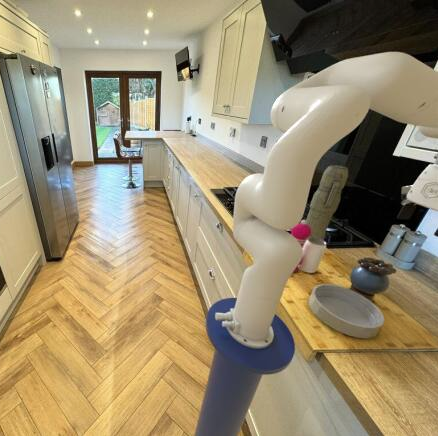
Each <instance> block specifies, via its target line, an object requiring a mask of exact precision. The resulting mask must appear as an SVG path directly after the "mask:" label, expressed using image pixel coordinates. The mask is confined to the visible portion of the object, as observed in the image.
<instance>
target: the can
mask: <svg viewBox="0 0 438 436" xmlns="http://www.w3.org/2000/svg"><path fill="white" fill-rule="evenodd" d="M302 250H303V260H302V263H301V264H300V265H298V269H299V270H300V271H302V272H304V273H307V274H314V273H316V272H317V271H318V268H319V267H320V264H321V262H322V259H323V257H324V255H325V254H326V250H327V242H326V240H325V239H324V240H322V239H319V238H315V237H309V238H308V240H306V242H305V244H304V246H303V247H302Z"/></svg>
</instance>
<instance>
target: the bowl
mask: <svg viewBox="0 0 438 436" xmlns="http://www.w3.org/2000/svg"><path fill="white" fill-rule="evenodd" d="M308 297H309V298H308V302H307V303H308V306H309V308H310V310H311V311H312V313H313V314H314V316H316V317H317V318H318V319H319V320H320V321H321V322H322V323H324V324H325V325H327V326H328V327H329V328H332V329H333V330H335V331H336V332H340V333H342V334H344V335H347V336H350V337H353V338H358V339H369V338H372V337H376V335H377V334H378V332H379V331H380V329H381V328H382V326H383V325H384V323H385V316H384V314H383V312H382V311H381V309H380V308H379V307H378V305H376V304H375V303H374V302H372V301H370V300H368V299H367V298H365V297H364V296H362V295H360V294H358V293H356V292H354V291H352V290H350V289H349V288H347V287H344V286H342V285H337V284H332V283H321V284H317V285H315V286H314V287H313V288H312V291H311V293H310V295H309V296H308Z"/></svg>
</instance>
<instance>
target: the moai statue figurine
mask: <svg viewBox="0 0 438 436" xmlns="http://www.w3.org/2000/svg"><path fill="white" fill-rule="evenodd" d="M348 177H349V168H348V167H346V166H344V165H339V164H331V165H328V167H327V168H326V169H325V170H324V171H323V173H322V177H321V179H320V182H319V186H318V187H317V190H316V191H314V194H313V196H312V199H311V201H310V204H309V210H308V214H307V217H306V219H305V220H306V221H307V224H306V225H308V226H309V227H310V228H311V235H310V236H309V237H315V238H319V239H322V240H324V241H325V238H326V231H327V229H328V227H329V225H330V222H331V219H332V217H333V215H334V213H336V212H337V210H338V207H339V204H340V202H341V194H342V190H343V189H344V188H345V184H346V182H347V180H348ZM309 237H307V240H308V238H309ZM304 244H305V243H304ZM304 244H303V246H304ZM303 246H302V248H303Z"/></svg>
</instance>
